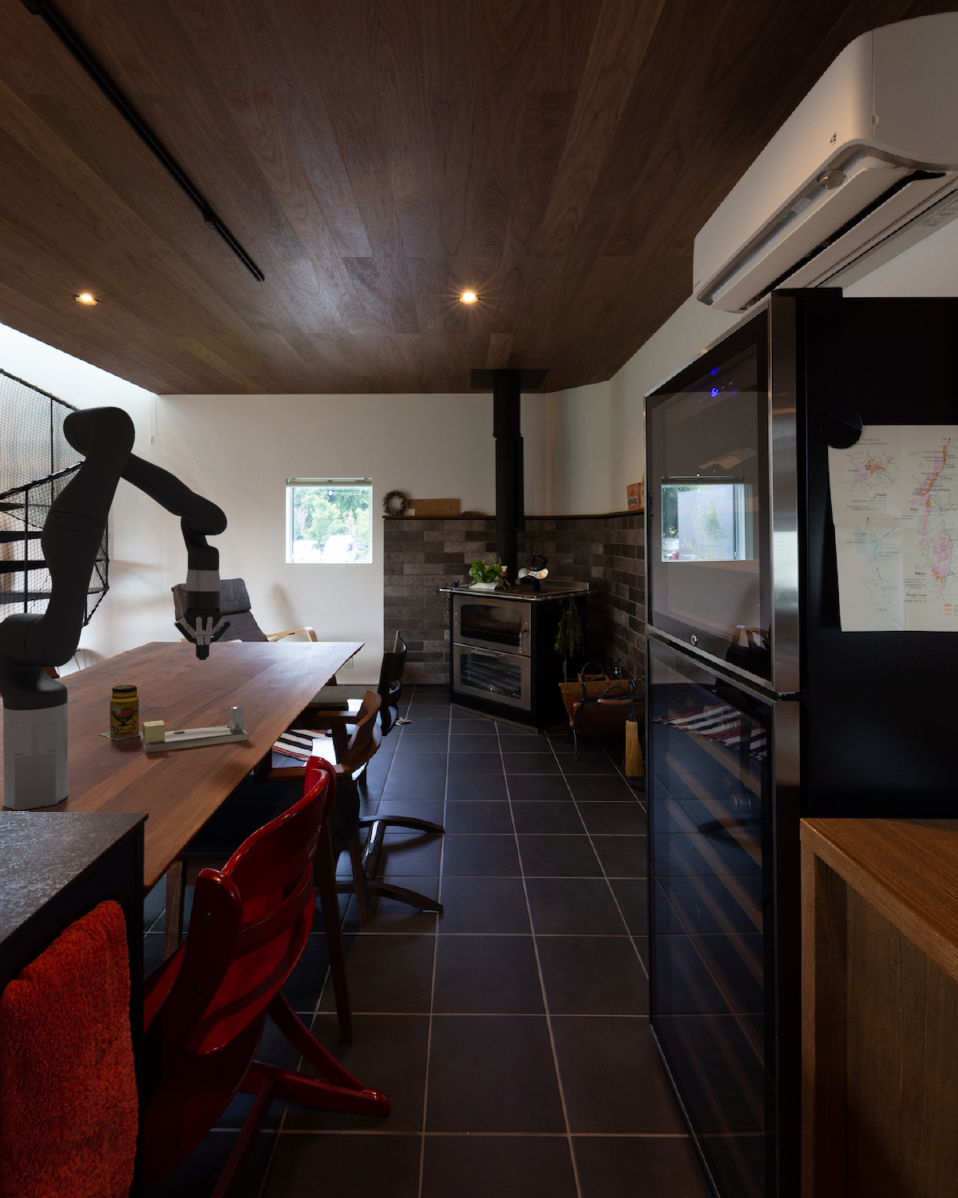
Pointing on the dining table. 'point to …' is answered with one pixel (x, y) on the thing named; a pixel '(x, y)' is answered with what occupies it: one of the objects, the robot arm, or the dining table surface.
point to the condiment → (124, 713)
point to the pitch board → (195, 738)
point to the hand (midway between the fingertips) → (202, 659)
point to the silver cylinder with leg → (236, 719)
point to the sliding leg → (153, 732)
